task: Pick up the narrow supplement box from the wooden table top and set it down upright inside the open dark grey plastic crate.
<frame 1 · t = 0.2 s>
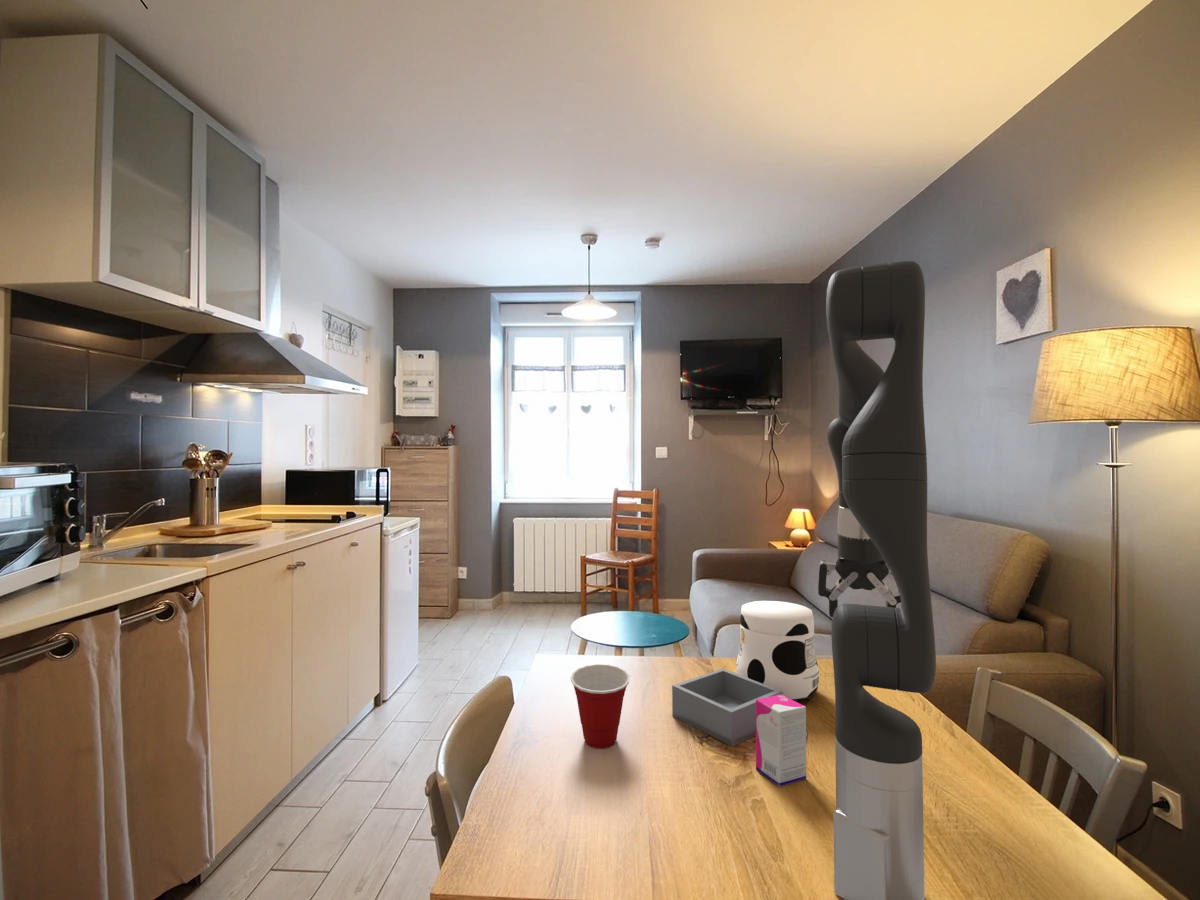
hand: (861, 621, 98), 22 cm above the table, tool pointing down, fingers open, 8 cm apart
milk container: (777, 692, 122), on the table
supplement box: (780, 775, 90), on the table
plastic cup: (600, 742, 101), on the table
crate: (726, 719, 109), on the table
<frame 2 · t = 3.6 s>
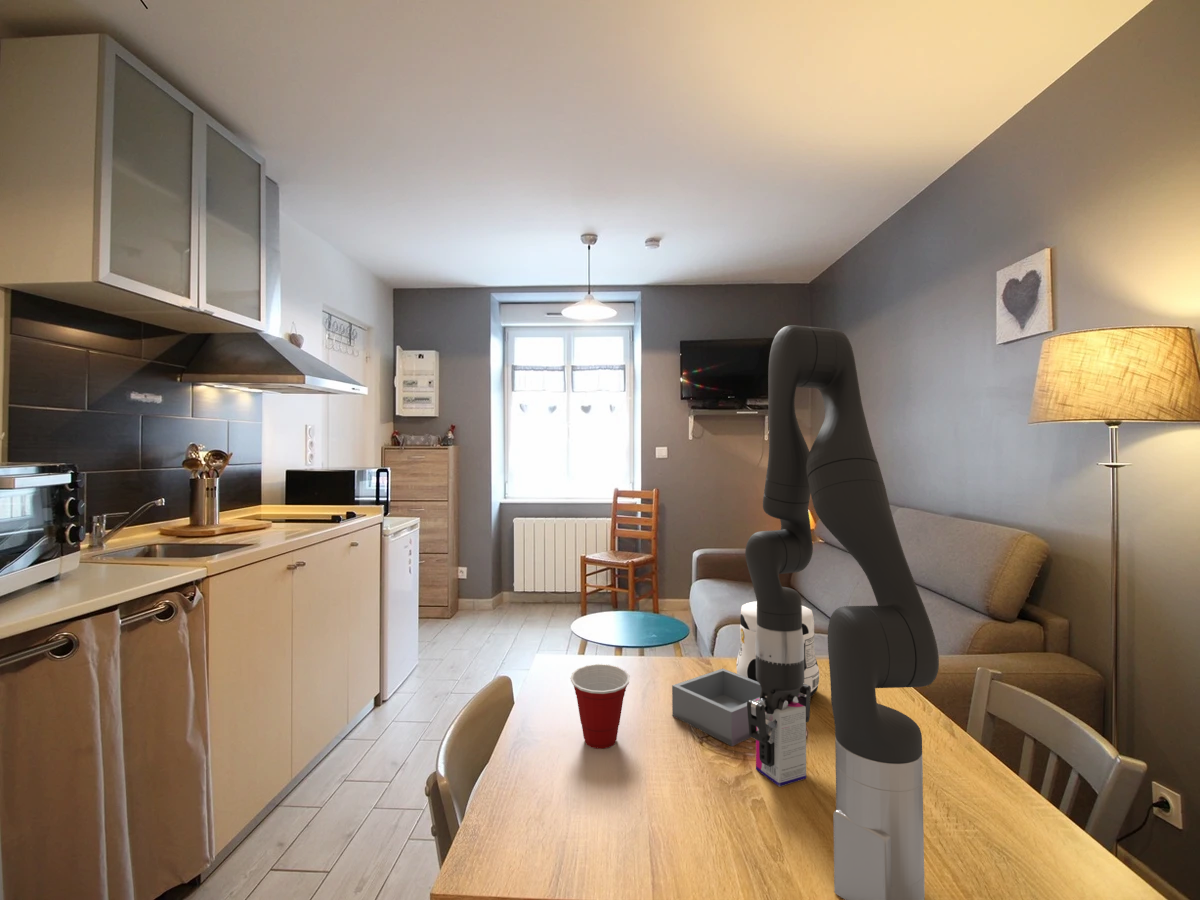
hand: (780, 756, 90), 3 cm above the table, tool pointing down, fingers closed on supplement box, 6 cm apart
supplement box: (780, 775, 90), on the table, touching gripper
everything else where it was.
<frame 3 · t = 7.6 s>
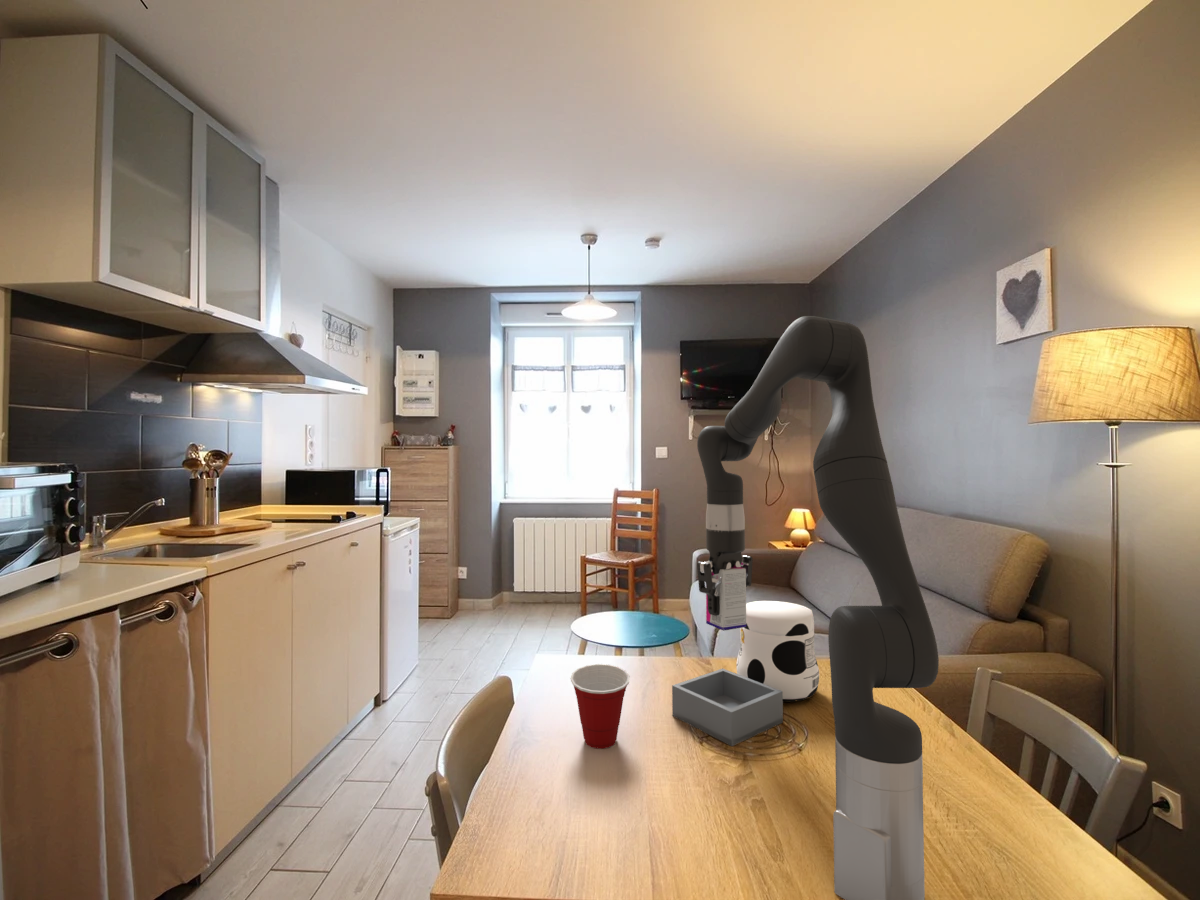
hand: (726, 611, 110), 21 cm above the table, tool pointing down, fingers closed on supplement box, 6 cm apart
supplement box: (726, 626, 110), point 18 cm above the table, touching gripper
everything else where it was.
when the fingers open (5 cm above the table, at t = 11.4 s): supplement box drops 1 cm, resting on crate.
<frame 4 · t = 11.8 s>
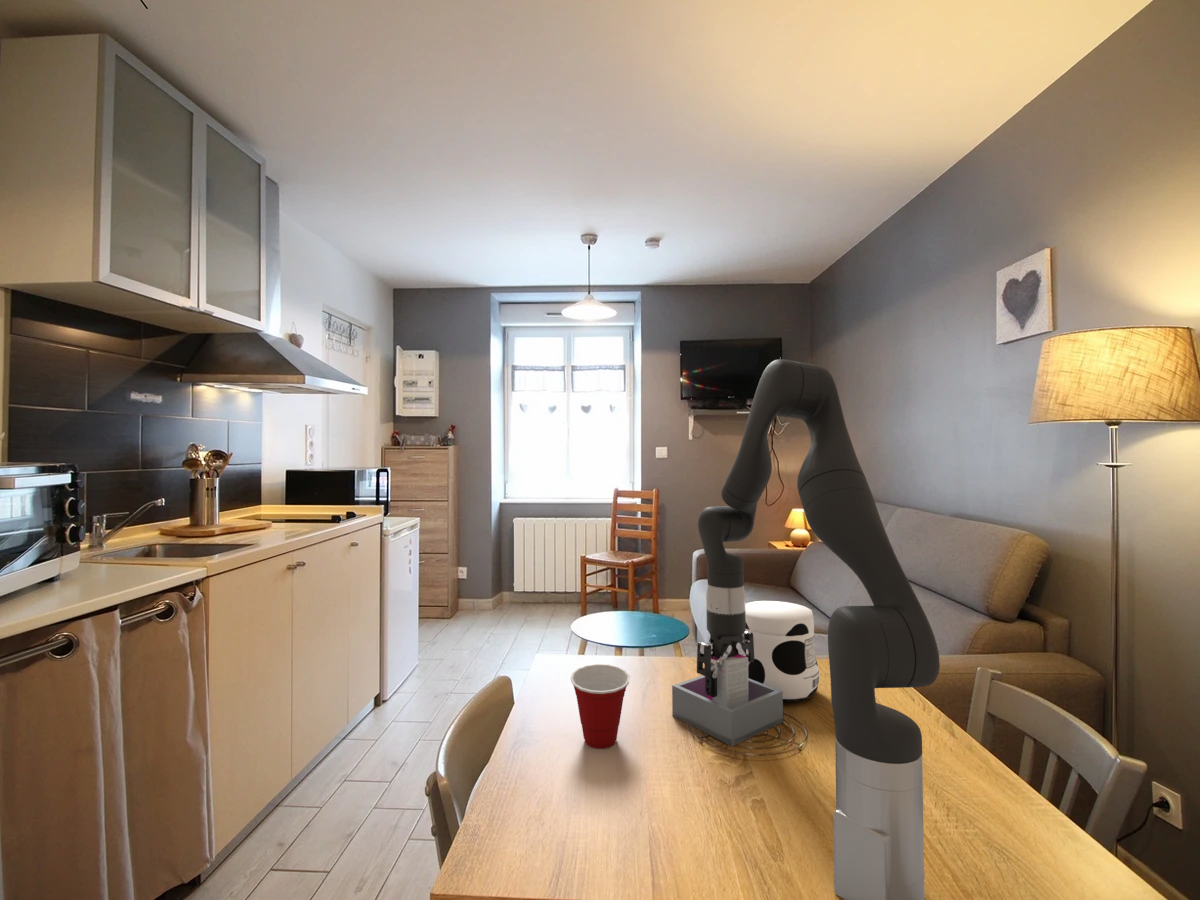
hand: (726, 690, 110), 6 cm above the table, tool pointing down, fingers open, 8 cm apart
supplement box: (728, 714, 110), point 1 cm above the table, touching crate
everything else where it was.
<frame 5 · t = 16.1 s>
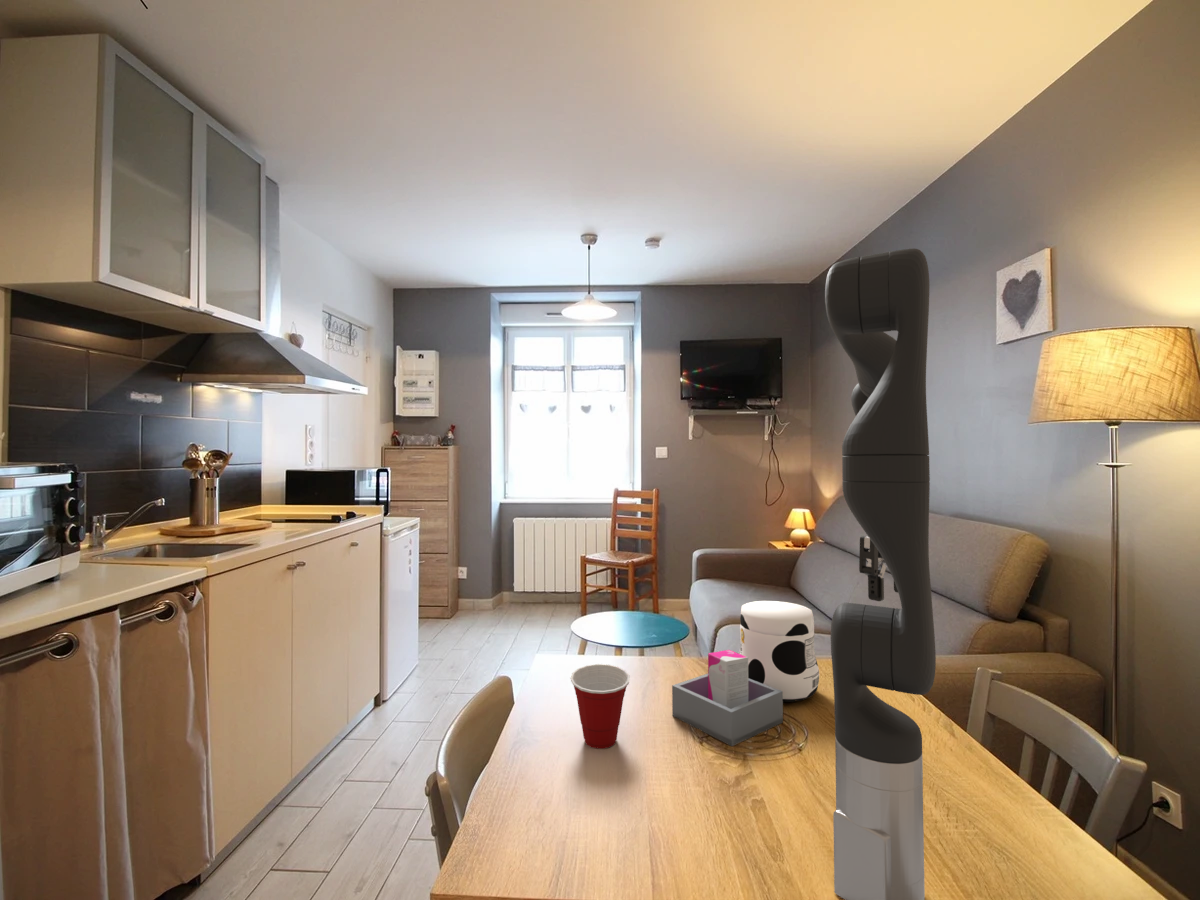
hand: (889, 596, 92), 28 cm above the table, tool pointing down, fingers open, 8 cm apart
nothing on the table moved.
at the end: supplement box inside the target area on the crate (0.3 cm from its centre), point 0.8 cm above the crate's base; supplement box tilted 0°; the gripper is holding nothing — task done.
